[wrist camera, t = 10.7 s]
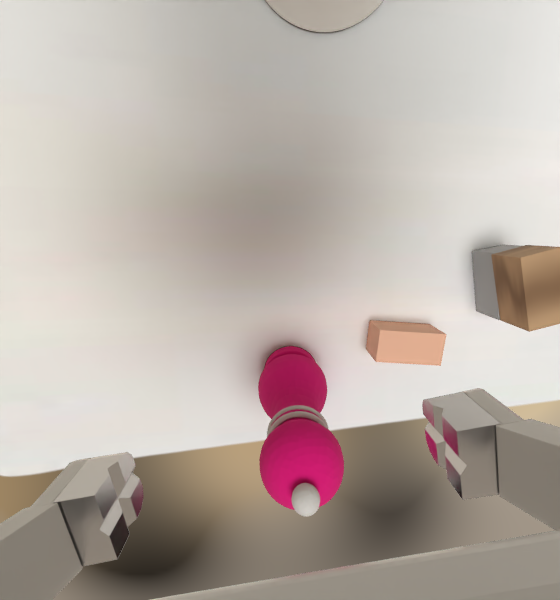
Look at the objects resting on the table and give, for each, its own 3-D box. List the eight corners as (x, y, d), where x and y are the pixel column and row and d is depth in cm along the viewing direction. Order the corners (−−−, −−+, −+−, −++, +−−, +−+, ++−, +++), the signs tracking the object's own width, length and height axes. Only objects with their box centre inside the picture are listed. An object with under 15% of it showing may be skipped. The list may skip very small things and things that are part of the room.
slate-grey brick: (471, 250, 37) (494, 253, 33) (502, 244, 37) (530, 246, 33) (475, 310, 38) (498, 319, 34) (505, 305, 38) (532, 313, 34)
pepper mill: (326, 347, 39) (381, 468, 19) (313, 403, 40) (351, 568, 20) (266, 336, 38) (258, 448, 19) (255, 393, 40) (236, 551, 20)
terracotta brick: (365, 348, 39) (375, 361, 35) (369, 319, 38) (380, 330, 34) (423, 352, 39) (440, 365, 35) (428, 323, 38) (446, 334, 34)
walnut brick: (491, 254, 33) (520, 257, 29) (526, 245, 33) (560, 247, 29) (500, 319, 34) (529, 331, 30) (533, 311, 34) (567, 321, 30)
